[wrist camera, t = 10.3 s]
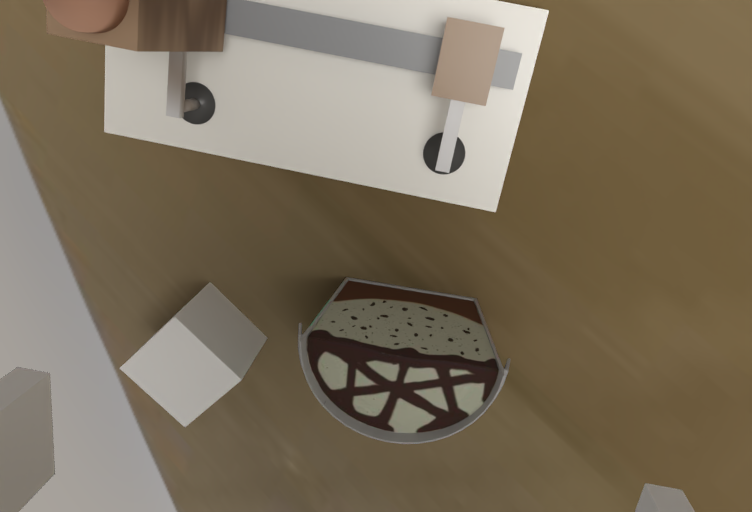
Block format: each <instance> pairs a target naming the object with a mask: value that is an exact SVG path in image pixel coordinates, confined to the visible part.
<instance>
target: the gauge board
mask: <svg viewBox="0 0 752 512" xmlns="http://www.w3.org/2000/svg"><path fill="white" fill-rule="evenodd" d="M548 13H549V10H544V9H539V8H534V7H528V6H523V5H518V4H512V3H507V2H502V1H496V0H227V7H226V19H225V32H224V44H223V52H188V54H187V70H186V87H185V100H186V99H191V98H195V99H197V100H198V101H199V103H200V106H199V108H198V109H196V110H192V111H187V112H184V117H183V118H175V117H170V116H166V106H167V86H168V66H169V52H137V51H132V50H127V49H122V48H117V47H112V46H107V45H105V114H104V132H107V133H112V134H116V135H121V136H126V137H131V138H136V139H141V140H146V141H151V142H155V143H160V144H165V145H170V146H175V147H180V148H185V149H190V150H194V151H199V152H204V153H209V154H214V155H219V156H224V157H229V158H233V159H238V160H243V161H248V162H253V163H258V164H263V165H268V166H272V167H277V168H282V169H287V170H292V171H297V172H302V173H307V174H311V175H316V176H321V177H326V178H331V179H336V180H341V181H346V182H350V183H355V184H360V185H365V186H370V187H375V188H380V189H385V190H389V191H394V192H399V193H404V194H409V195H414V196H419V197H424V198H428V199H433V200H438V201H443V202H448V203H453V204H458V205H462V206H467V207H472V208H477V209H482V210H487V211H492V212H496V209H497V205H498V201H499V198H500V194H501V190H502V186H503V182H504V179H505V175H506V171H507V167H508V164H509V160H510V156H511V152H512V148H513V145H514V141H515V137H516V133H517V130H518V126H519V122H520V118H521V115H522V111H523V107H524V103H525V99H526V96H527V92H528V88H529V84H530V81H531V77H532V73H533V69H534V65H535V62H536V58H537V54H538V50H539V47H540V43H541V39H542V35H543V31H544V28H545V24H546V20H547V16H548Z"/></svg>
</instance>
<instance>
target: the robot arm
mask: <svg viewBox="0 0 752 512" xmlns="http://www.w3.org/2000/svg"><path fill="white" fill-rule="evenodd" d="M54 474H55V464H54V444H53V425H52V405H51V384H50V373H48V372H42V371H37V370H31V369H26V368H21V367H16V368H15V369H14V370H12V371H11V372H10V373H8V374H7V375H5V376H4V377H3V378H1V379H0V512H19V511H20V510H21V509H22V508H23V507H24V506H25V505H26V504H27V503H28V501H29V500H30V499H31V498H32V497H33V496H34V495H35V494H36V493H37V492H38V491H39V490H40V489H41V488H42V487H43V486H44V485H45V484H46V483H47V482H48V481H49V479H50V478H51V477H52V476H53V475H54ZM635 512H695V511H694V510H693V508H692V506H691V505H690V503H689V501H688V499H687V498H686V496H685V494H684V492H683V491H682V490H679V489H674V488H669V487H663V486H658V485H652V484H647V483H645V485H644V488H643V491H642V493H641V496H640V499H639V502H638V505H637V507H636V510H635Z"/></svg>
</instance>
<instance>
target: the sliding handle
mask: <svg viewBox="0 0 752 512" xmlns="http://www.w3.org/2000/svg"><path fill="white" fill-rule="evenodd" d="M43 2H44V4H45V6H46V17H47V34H51V35H56V36H61V37H66V38H71V39H76V40H82V41H87V42H92V43H97V44H102V45H107V46H112V47H117V48H122V49H127V50H132V51H137V52H169V66H168V86H167V106H166V116H170V117H175V118H183V117H184V112H187V111H192V110H196V109H198V108H199V106H200V103H199V101H198V100H197V99H195V98H191V99H186V100H185V87H186V70H187V54H188V52H223V44H224V32H225V19H226V7H227V0H43Z"/></svg>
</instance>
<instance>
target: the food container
mask: <svg viewBox="0 0 752 512" xmlns="http://www.w3.org/2000/svg"><path fill="white" fill-rule="evenodd" d="M298 351H299V357H300V363H301V366H302V369H303V372H304V375H305V378H306V380H307V383H308V385H309V387H310V388H311V390H312V392H313V394H314V395H315V397H316V398H317V399H318V401H319V402H320V403H321V405H322V406H323V407H324V408H325V409H326V410H327V411H328V412H329V413H330V414H331V415H332V416H333V417H334V418H336V419H337V420H338V421H340V422H341V423H342V424H344V425H345V426H347V427H349V428H350V429H352V430H354V431H356V432H358V433H360V434H362V435H365V436H367V437H370V438H373V439H377V440H381V441H385V442H390V443H399V444H419V443H425V442H432V441H436V440H439V439H443V438H446V437H449V436H451V435H453V434H455V433H457V432H460V431H462V430H463V429H465V428H466V427H468V426H469V425H471V424H472V423H474V422H475V421H476V420H477V419H478V418H479V417H480V416H481V415H482V414H484V413H485V411H486V410H487V409H488V408H489V406H490V405H491V404H492V403H493V401H494V400H495V398H496V397H497V395H498V394H499V392H500V390H501V388H502V386H503V384H504V382H505V379H506V376H507V373H508V370H509V364H510V359H509V358H508V359H507V362H506V365H505V368H503V366H502V364H501V361H500V358H499V356H498V353H497V350H496V348H495V345H494V342H493V340H492V337H491V334H490V332H489V329H488V326H487V324H486V321H485V318H484V316H483V313H482V310H481V308H480V305H479V302H478V300H477V298H471V297H465V296H459V295H453V294H447V293H441V292H435V291H429V290H422V289H416V288H410V287H404V286H398V285H392V284H386V283H380V282H374V281H368V280H362V279H355V278H349V277H346V278H345V279H344V281H343V282H342V283H341V285H340V286H339V287H338V289H337V290H336V291H335V293H334V294H333V295H332V297H331V298H330V299H329V301H328V302H327V303H326V305H325V306H324V307H323V309H322V310H321V311H320V313H319V314H318V315H317V317H316V318H315V319H314V321H313V322H312V323H311V325H310V326H309V327H308V329H307V330H306V331H305V333H304V334H302V323H299V329H298Z"/></svg>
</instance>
